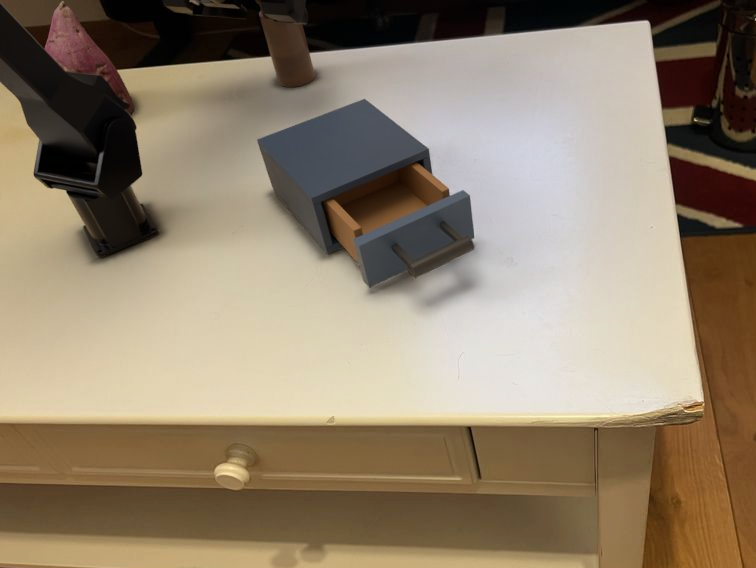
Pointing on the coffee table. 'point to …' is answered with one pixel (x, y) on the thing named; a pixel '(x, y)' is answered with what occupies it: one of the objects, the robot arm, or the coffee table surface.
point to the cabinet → (335, 160)
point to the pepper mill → (288, 51)
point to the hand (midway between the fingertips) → (275, 17)
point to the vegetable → (81, 52)
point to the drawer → (401, 224)
